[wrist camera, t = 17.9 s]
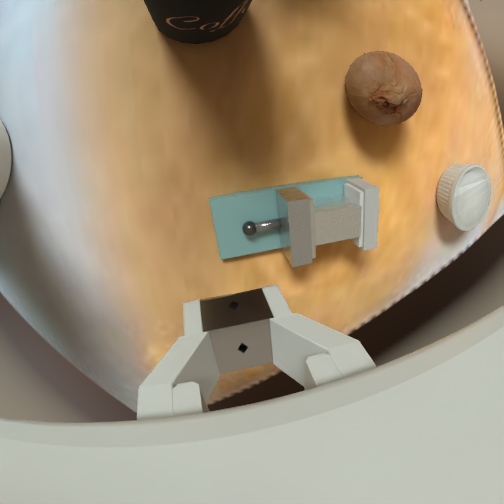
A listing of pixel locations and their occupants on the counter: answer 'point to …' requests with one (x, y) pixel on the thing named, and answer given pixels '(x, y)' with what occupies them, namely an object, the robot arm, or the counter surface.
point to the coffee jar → (196, 18)
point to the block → (336, 219)
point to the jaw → (291, 226)
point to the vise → (265, 208)
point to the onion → (383, 88)
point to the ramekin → (464, 195)
